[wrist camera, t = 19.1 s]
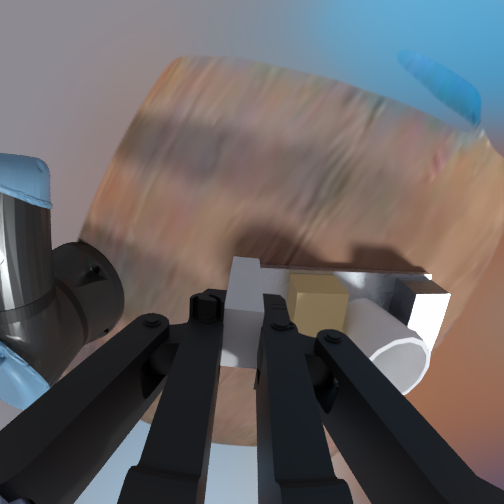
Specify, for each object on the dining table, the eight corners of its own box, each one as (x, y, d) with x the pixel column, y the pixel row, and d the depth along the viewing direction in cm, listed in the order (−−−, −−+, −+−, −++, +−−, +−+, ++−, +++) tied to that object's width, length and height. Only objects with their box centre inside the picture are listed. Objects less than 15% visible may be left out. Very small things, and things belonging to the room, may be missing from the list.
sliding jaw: (279, 356, 40) (283, 383, 35) (290, 273, 37) (297, 292, 31) (319, 356, 41) (328, 382, 35) (335, 275, 37) (349, 294, 31)
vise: (248, 352, 42) (248, 384, 35) (254, 263, 38) (255, 286, 31) (404, 348, 43) (423, 374, 36) (426, 271, 39) (453, 290, 32)
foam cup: (387, 334, 40) (425, 387, 28) (331, 352, 41) (356, 414, 28) (385, 279, 37) (433, 325, 25) (322, 297, 38) (352, 354, 26)
